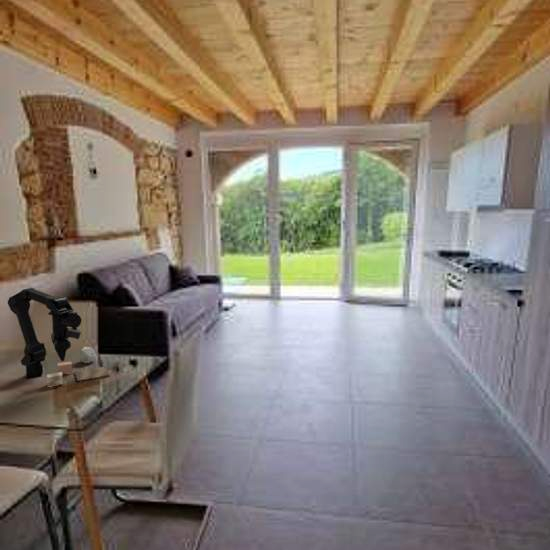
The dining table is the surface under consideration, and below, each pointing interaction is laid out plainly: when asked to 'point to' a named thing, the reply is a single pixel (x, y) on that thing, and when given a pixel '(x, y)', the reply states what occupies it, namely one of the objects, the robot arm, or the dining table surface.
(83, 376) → the walnut board
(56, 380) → the birch brick
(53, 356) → the dining table surface
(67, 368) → the terracotta brick
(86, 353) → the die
